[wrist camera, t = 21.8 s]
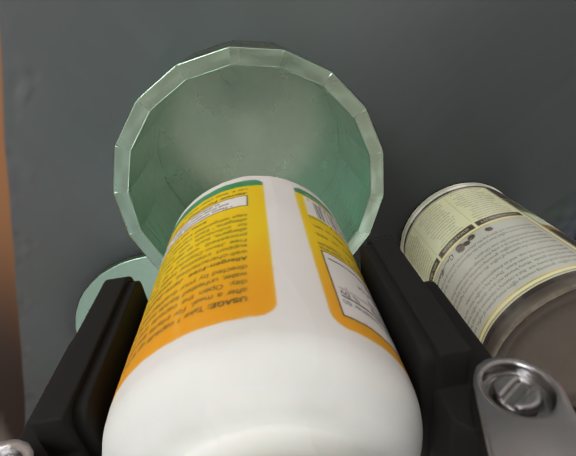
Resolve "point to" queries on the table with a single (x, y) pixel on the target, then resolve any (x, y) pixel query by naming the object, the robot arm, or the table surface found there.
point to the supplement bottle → (262, 340)
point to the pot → (245, 140)
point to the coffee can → (500, 274)
